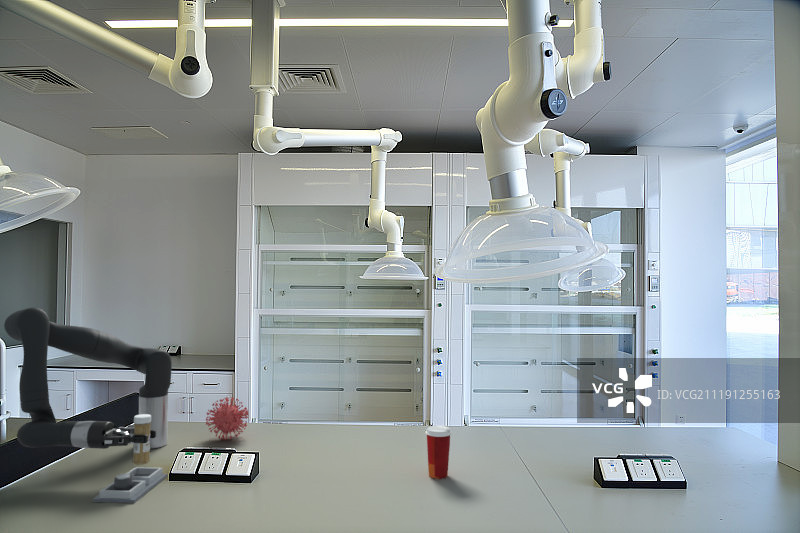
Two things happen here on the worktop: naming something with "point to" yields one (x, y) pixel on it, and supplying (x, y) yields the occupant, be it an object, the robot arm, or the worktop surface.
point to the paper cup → (438, 451)
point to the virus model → (227, 418)
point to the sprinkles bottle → (142, 449)
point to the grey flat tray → (131, 485)
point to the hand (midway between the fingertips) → (151, 436)
